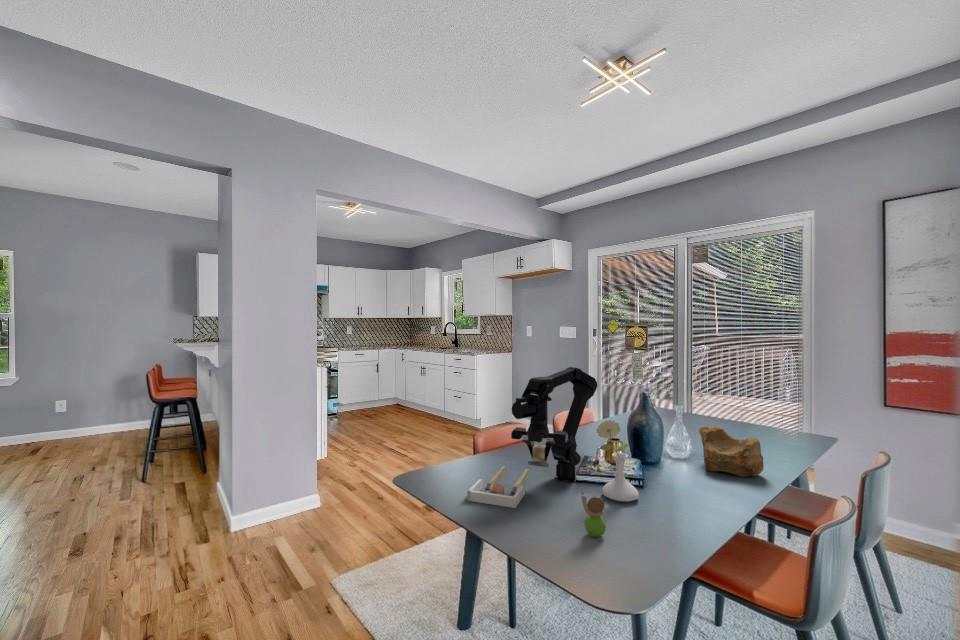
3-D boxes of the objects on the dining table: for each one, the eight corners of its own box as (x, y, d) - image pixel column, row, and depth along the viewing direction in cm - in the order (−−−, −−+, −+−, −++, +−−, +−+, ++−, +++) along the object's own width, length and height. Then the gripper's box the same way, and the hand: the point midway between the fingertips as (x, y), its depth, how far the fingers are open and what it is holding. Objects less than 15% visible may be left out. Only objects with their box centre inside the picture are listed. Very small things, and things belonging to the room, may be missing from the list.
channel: (529, 474, 156) (529, 469, 156) (516, 493, 139) (516, 487, 139) (502, 471, 159) (502, 466, 159) (487, 488, 143) (487, 483, 143)
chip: (501, 497, 136) (501, 488, 136) (498, 501, 133) (498, 491, 133) (493, 496, 137) (492, 487, 137) (490, 499, 134) (489, 490, 134)
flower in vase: (638, 493, 138) (637, 417, 139) (639, 507, 128) (639, 425, 128) (597, 488, 143) (597, 415, 143) (595, 501, 132) (595, 422, 132)
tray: (524, 494, 138) (524, 485, 138) (515, 508, 128) (515, 498, 128) (479, 487, 144) (479, 479, 144) (467, 500, 133) (467, 491, 133)
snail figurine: (578, 531, 113) (578, 487, 113) (601, 530, 114) (600, 486, 114) (585, 541, 108) (584, 495, 108) (609, 540, 108) (608, 494, 108)
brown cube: (504, 493, 139) (504, 484, 139) (501, 497, 136) (501, 488, 136) (495, 492, 140) (495, 483, 140) (492, 496, 137) (492, 487, 137)
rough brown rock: (682, 467, 166) (680, 430, 165) (707, 456, 173) (706, 422, 173) (742, 489, 145) (741, 447, 144) (767, 476, 153) (766, 437, 152)
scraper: (550, 463, 144) (550, 445, 144) (548, 467, 140) (548, 449, 140) (531, 460, 147) (531, 443, 147) (528, 465, 142) (527, 447, 142)
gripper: (506, 417, 139) (506, 464, 139) (562, 422, 133) (562, 471, 133) (515, 411, 150) (515, 454, 150) (567, 414, 143) (568, 460, 143)
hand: (539, 460), depth 143 cm, fingers closed on scraper, 4 cm apart
